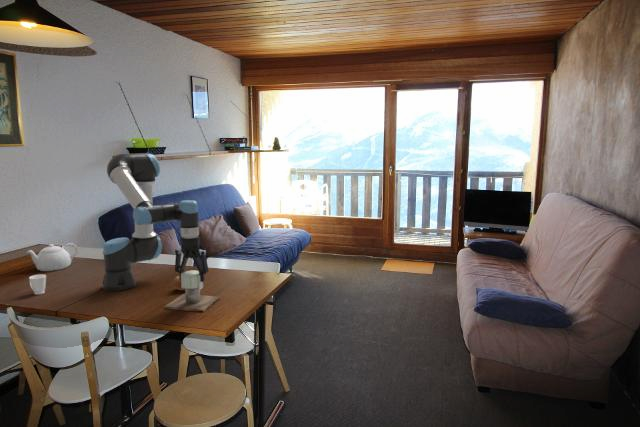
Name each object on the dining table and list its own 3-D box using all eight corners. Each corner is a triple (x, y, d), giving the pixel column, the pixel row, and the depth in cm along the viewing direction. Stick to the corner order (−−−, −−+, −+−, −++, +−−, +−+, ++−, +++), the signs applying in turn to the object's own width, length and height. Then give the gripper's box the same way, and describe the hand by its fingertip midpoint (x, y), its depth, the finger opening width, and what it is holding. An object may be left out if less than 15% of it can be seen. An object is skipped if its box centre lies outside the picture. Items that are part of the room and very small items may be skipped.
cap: (180, 288, 188) (179, 274, 187) (188, 282, 195) (188, 269, 194) (195, 289, 186) (195, 275, 185) (204, 284, 193) (203, 270, 192)
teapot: (60, 272, 239) (58, 248, 237) (27, 272, 239) (24, 247, 237) (79, 263, 258) (77, 240, 256) (48, 263, 258) (46, 240, 256)
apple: (173, 288, 212) (172, 272, 211) (190, 286, 216) (189, 270, 214) (174, 293, 205) (173, 277, 204) (192, 291, 208) (191, 275, 207)
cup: (35, 296, 201) (34, 279, 200) (23, 293, 206) (21, 276, 204) (51, 292, 207) (49, 275, 206) (38, 288, 212) (37, 272, 211)
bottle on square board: (164, 308, 186) (162, 281, 184) (183, 296, 202) (182, 270, 200) (203, 311, 182) (202, 284, 180) (220, 298, 198) (219, 273, 196)
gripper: (163, 237, 186) (166, 289, 189) (207, 239, 182) (209, 292, 185) (173, 233, 193) (175, 283, 197) (215, 235, 189) (217, 286, 192)
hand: (192, 287), depth 191 cm, fingers closed on cap, 7 cm apart
